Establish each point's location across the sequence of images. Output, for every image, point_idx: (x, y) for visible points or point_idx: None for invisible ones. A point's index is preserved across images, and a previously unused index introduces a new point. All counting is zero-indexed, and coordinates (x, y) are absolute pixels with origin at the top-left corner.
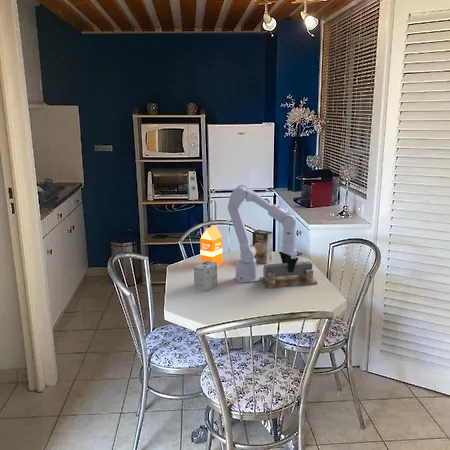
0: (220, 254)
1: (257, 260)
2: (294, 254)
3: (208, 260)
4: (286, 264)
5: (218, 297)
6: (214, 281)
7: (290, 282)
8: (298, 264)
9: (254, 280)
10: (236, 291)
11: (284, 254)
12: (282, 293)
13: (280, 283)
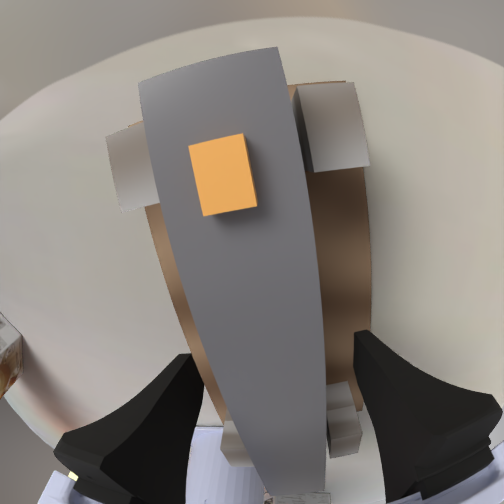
0: None
1: (19, 364)
2: (496, 493)
3: None
4: (288, 421)
5: (380, 474)
6: (292, 502)
7: (339, 298)
8: (314, 301)
9: None
10: (354, 461)
11: (165, 490)
12: (442, 340)
13: (343, 357)
